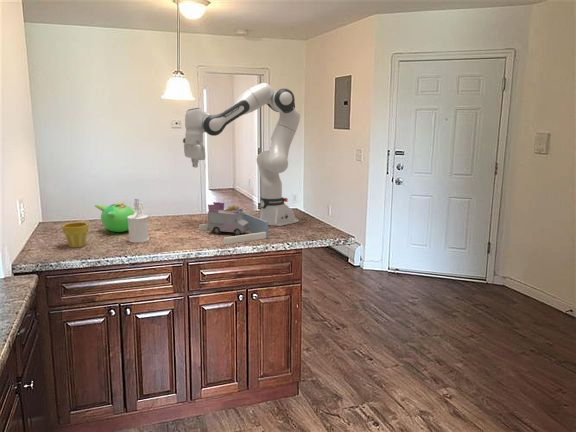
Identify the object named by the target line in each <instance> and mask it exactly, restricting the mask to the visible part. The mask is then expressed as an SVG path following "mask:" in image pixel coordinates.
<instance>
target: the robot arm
mask: <svg viewBox="0 0 576 432" xmlns="http://www.w3.org/2000/svg"><path fill="white" fill-rule="evenodd" d="M295 99H296V98H295V95H294V93H293V92H292V91H291V90H290V89H289V88H281V89H278V90H274V89H273V88H272V86H271V85H270V83H267V82H261V83H258V84H256V85H253V86H252V87H250V88H248V89H247V90H245V91H244V92H241V94H240V95H238V96H237V99H236V101H235V103H234V104H233V105H231V106H230V107H228V108H226V109H225V110H224V111H222V112H220V113H218V114H211V113H208V112H206V111H205V110H203V109H202V108H201V107H195V108H189V109H188V110H186V111H185V114H184V127H185V134H184V135H185V136H184V137H183V138H182V143H183V150H184V151H183V152H184V156H185V158H190V159H191V160H190V161H191V163H192V164H191V165H192V168H198V167H199V161H204V160H206V148H205V145H204V133H206V134H207V135H209V136H218V135H220V134H221V133H222V132H223V130H224V129H226V126H227V125H229V124H230V123H232V122H233V121H235V120H237V119H238V118H240V117H242V116H245V115H248V114H249V113H253V112H254V111H257V110H259V109H260V108H262V107H263V106H265V105H267V106H268V107H269V108H270V109H271V110H272V111H274V112H276V113H279V116H278V117H279V118H278V121H277V122H276V125H275V128H274V130H273V131H272V134H271V136H270V140H271V141H270V147H269V150H264V151H261V152H259V153H258V155H256V156H257V157H256V164H257V166H258V170H259V171H258V172H259V176H260V183H261V197H260V214H259V219H262V220H264V221H267V222H268V226H278V227H281V226H285V225H286V226H287V225H290V224H291V225H292V224H295V223H299V222H300V221H299V219H298V218H297V217H296V216H295V212H294V210H293V209H292V207H289V206H288V205H287V204H286V203H288V201H289V199H288V198H287V197H283V184H282V180H281V177H280V173H284V172H285V171H287V168H288V166H289V159H288V158H289V154H290V153H289V151H290V147H291V145H292V142H293V140H294V137H295V135H296V133H297V130H298V127H299V123H300V121H301V120H300V119H301V113H299V111H297V110H296V109H295V108H296V103H295Z"/></svg>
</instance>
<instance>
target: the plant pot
mask: <svg viewBox="0 0 576 432" xmlns="http://www.w3.org/2000/svg"><path fill="white" fill-rule="evenodd" d="M88 232H89V224H88V223H87V222H85V221H84V222H83V221H81V222H80V221H78V222H68V223H65V224H63V225H62V233H63V234H64V235H65V238H66V242H67V244H68V247H69V248H72V249H73V248H75V249H76V248H82V247H85V246H86V241H87V234H88Z"/></svg>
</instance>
